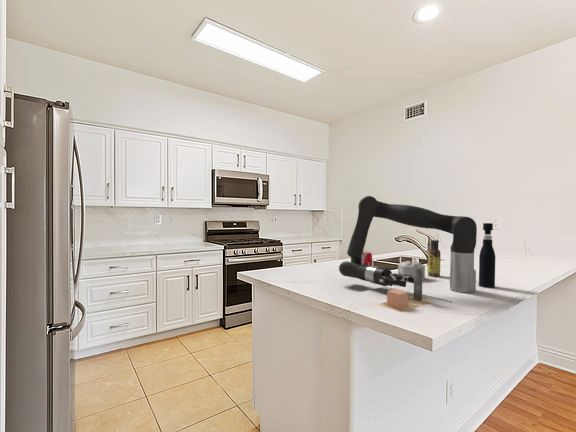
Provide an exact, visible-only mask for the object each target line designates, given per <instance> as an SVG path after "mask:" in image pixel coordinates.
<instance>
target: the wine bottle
mask: <svg viewBox="0 0 576 432" xmlns="http://www.w3.org/2000/svg"><path fill="white" fill-rule="evenodd" d="M493 229H494V223H493V222H492V223H489V222H487V223H485V222H483V223H482V230H483V231H484V235H483V239H482V246H481V249H480V252H479V255H478V257H479V260H478V261H479V262H478V263H479V264H478V287H480V288H481V287H482V288H487V289H494V288H495V287H496V253H495V249H494V247H493V237H492V231H494V230H493Z"/></svg>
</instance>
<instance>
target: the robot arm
mask: <svg viewBox="0 0 576 432" xmlns="http://www.w3.org/2000/svg"><path fill="white" fill-rule="evenodd" d="M357 207H358V208H357V209H358V214H357V219H356V224H355V227H354V228H353V233H352V236H351V238H350V242H349V245H348V247H347V248H348V249H347V251H346V253H347V256H348V257H350V261H346V260H345V261H342V262H341V263H340V264H339V266H338V271H339V273H340V274H341V275H342V276H344V277H348V278H352V279H353V278H354V279H359V280H361V281H365V282H368V283H371V284H373V285H374V284H375V285H378V286H382V287H387V286H389V287H392V286H396V287H398V286H399V287H403V288H406V287H407V283H410V284H414V278H413V277H412V275H406V274H401V273H398V272H396V273H395V272H392V270H391V269H390V268H387V267H381V266H375V265H372V266H369V265H362V253H363V251H365V245H366V242H367V238H368V237H367V236H368V235H369V234H368V233H369V230H370V227H371V223H372V222H373V219H374V218H379V219H380V218H381V219H386V220H388V221H389V220H390V221H392V222H395V223H399V224H403V225H406V226H410V227H415V228H420V229H421V228H422V229H430V230H431V229H432V230H438V231H441V232H446V233H448V234H451V235H452V244H451V245H450V259H449V260H450V264H449V265H450V266H449V267H450V268H449V270H450V271H449V277H450V278H449V289H450V290H452V291H454V292H458V293H474V292H476V287H477V285H476V283H477V282H476V281H477V278H476V277H477V270H476V269H475V249H476V246H477V234H478V233H477V231H478V230H477V229H478V228H477V224H476V223H477V222H476V221H475V220H474V219H473V218H472V217H470V216H462V215H448V214H441V213H438V212H435V211H433V210H430V209H427V208H424V207H419V206H416V205H409V204H408V205H407V204H393V203H387V202H386V203H385V202H383V201H380V200H377V199H376V198H375V197H374V196H371V195H366V196H364V197H362V198H361V199H360V201H359V203H358V206H357ZM407 278H408V279H407Z"/></svg>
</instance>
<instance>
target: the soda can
mask: <svg viewBox="0 0 576 432" xmlns="http://www.w3.org/2000/svg"><path fill="white" fill-rule="evenodd" d="M362 265H369V266H373V254H372V252H371V251H369V250H367V251H365V250H363V253H362Z"/></svg>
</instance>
